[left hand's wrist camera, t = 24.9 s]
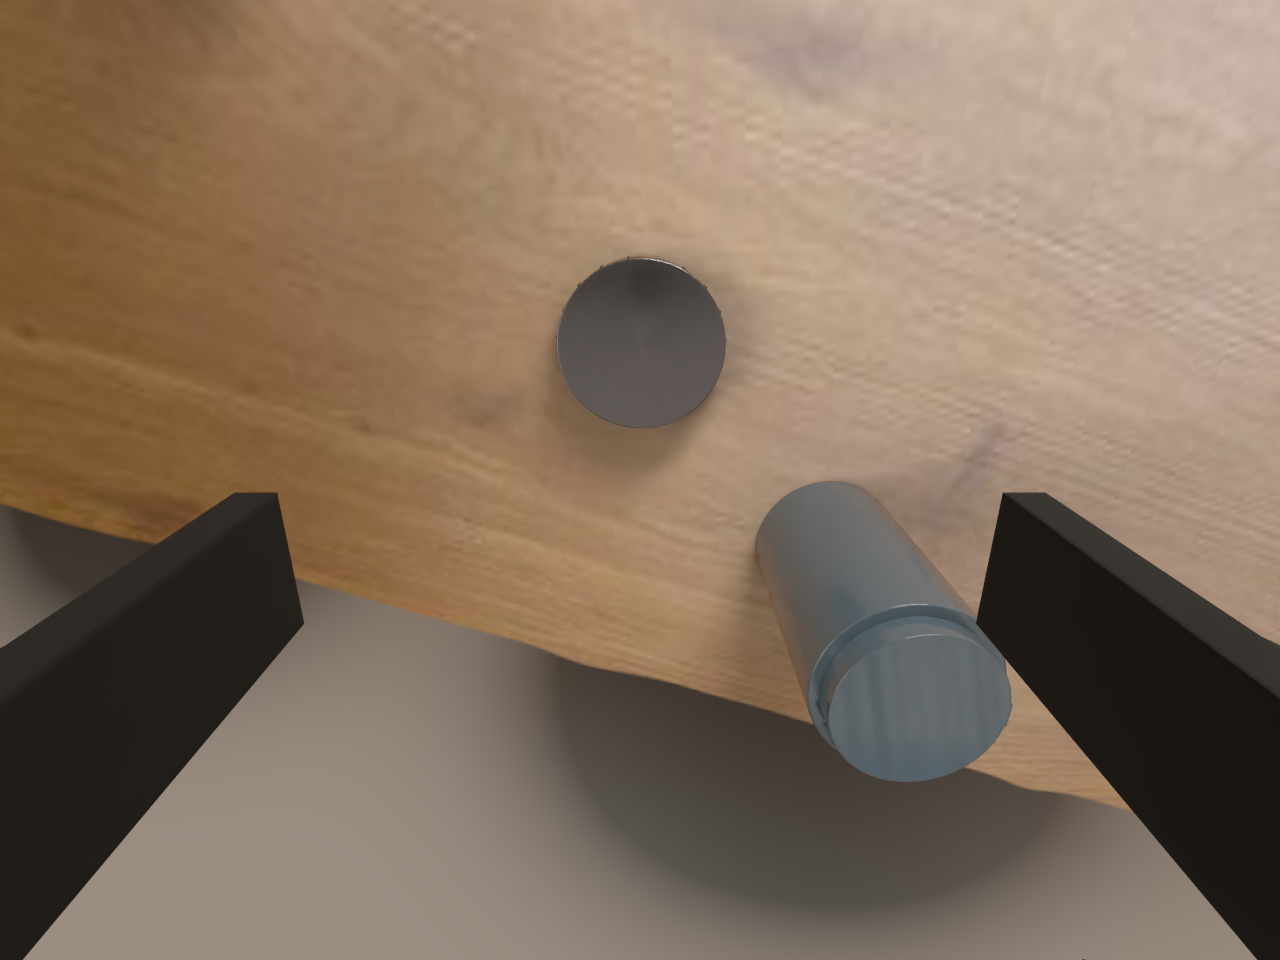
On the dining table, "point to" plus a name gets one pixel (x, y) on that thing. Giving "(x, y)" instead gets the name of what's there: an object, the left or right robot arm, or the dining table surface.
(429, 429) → the dining table surface
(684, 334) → the lid
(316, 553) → the dining table surface
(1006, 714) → the jar
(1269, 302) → the dining table surface
